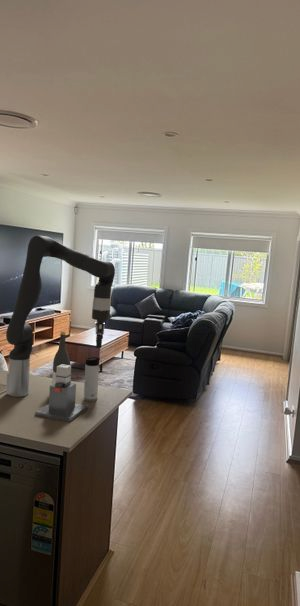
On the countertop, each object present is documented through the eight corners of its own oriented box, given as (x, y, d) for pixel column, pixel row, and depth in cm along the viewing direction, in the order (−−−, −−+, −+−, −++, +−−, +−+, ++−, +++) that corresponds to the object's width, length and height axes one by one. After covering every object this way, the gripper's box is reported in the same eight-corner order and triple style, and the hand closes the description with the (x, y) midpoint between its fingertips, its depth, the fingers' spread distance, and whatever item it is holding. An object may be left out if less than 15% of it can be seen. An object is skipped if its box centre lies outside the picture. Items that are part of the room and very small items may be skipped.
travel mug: (95, 402, 190) (97, 359, 188) (81, 400, 191) (83, 358, 189) (99, 397, 196) (101, 356, 194) (86, 396, 197) (88, 355, 195)
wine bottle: (52, 395, 195) (54, 332, 192) (51, 389, 203) (54, 329, 200) (69, 394, 197) (72, 333, 194) (68, 389, 205) (71, 329, 202)
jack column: (54, 408, 174) (56, 366, 172) (60, 404, 178) (61, 364, 176) (64, 410, 172) (66, 368, 170) (69, 406, 177) (71, 365, 175)
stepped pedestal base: (35, 415, 170) (36, 384, 169) (54, 403, 185) (56, 374, 184) (69, 422, 166) (71, 390, 164) (87, 409, 181) (88, 379, 179)
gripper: (92, 305, 182) (89, 341, 184) (92, 310, 168) (89, 348, 170) (109, 306, 183) (106, 342, 185) (110, 311, 169) (107, 349, 171)
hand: (98, 345), depth 178 cm, fingers open, 8 cm apart
